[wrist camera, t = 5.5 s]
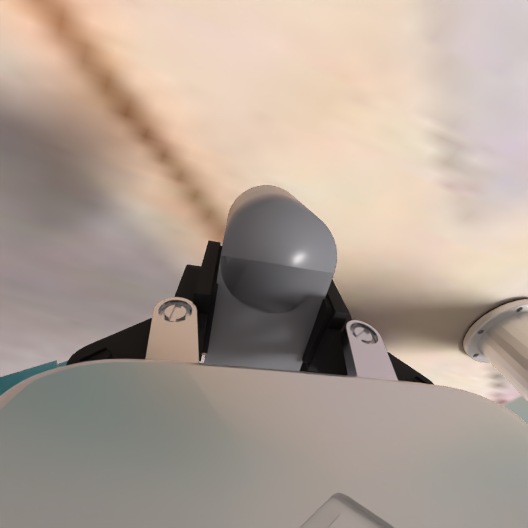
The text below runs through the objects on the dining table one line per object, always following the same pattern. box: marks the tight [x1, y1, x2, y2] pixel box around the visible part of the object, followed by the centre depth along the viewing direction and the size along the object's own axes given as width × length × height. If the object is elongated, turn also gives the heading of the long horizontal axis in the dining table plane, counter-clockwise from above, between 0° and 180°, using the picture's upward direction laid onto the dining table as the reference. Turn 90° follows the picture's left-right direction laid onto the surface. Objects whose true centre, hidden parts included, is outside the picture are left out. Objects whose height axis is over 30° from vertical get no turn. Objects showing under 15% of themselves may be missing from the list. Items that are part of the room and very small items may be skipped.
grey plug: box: [204, 185, 337, 371], centre depth 12 cm, size 11×4×5 cm, turn 167°
